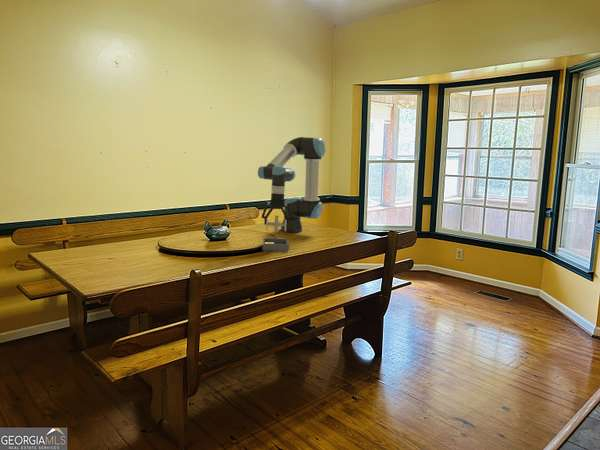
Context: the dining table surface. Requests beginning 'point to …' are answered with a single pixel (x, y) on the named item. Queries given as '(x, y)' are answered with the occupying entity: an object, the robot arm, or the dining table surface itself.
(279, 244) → the tray
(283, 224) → the pipe connector
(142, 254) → the dining table surface
